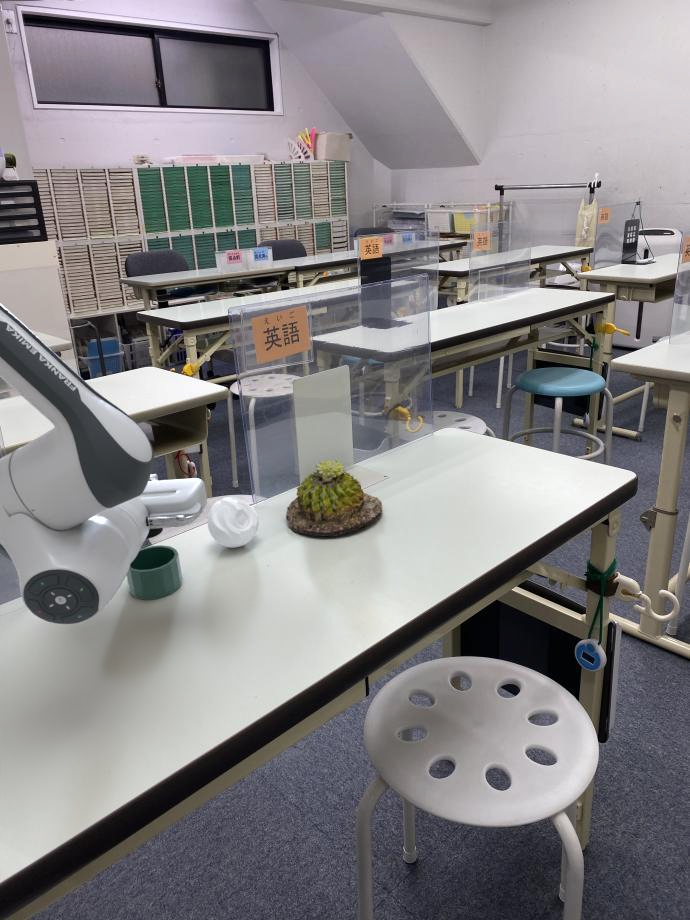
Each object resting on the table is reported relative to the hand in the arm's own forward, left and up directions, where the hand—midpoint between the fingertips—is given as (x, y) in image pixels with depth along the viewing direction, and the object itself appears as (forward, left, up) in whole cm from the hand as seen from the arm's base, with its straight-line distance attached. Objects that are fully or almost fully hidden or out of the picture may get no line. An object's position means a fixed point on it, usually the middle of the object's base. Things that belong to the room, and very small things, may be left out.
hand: (139, 480), depth 93 cm
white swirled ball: (+10, +10, -16) cm, 22 cm away
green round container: (0, -1, -16) cm, 16 cm away
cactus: (+26, +18, -16) cm, 36 cm away
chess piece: (0, -1, -8) cm, 8 cm away
